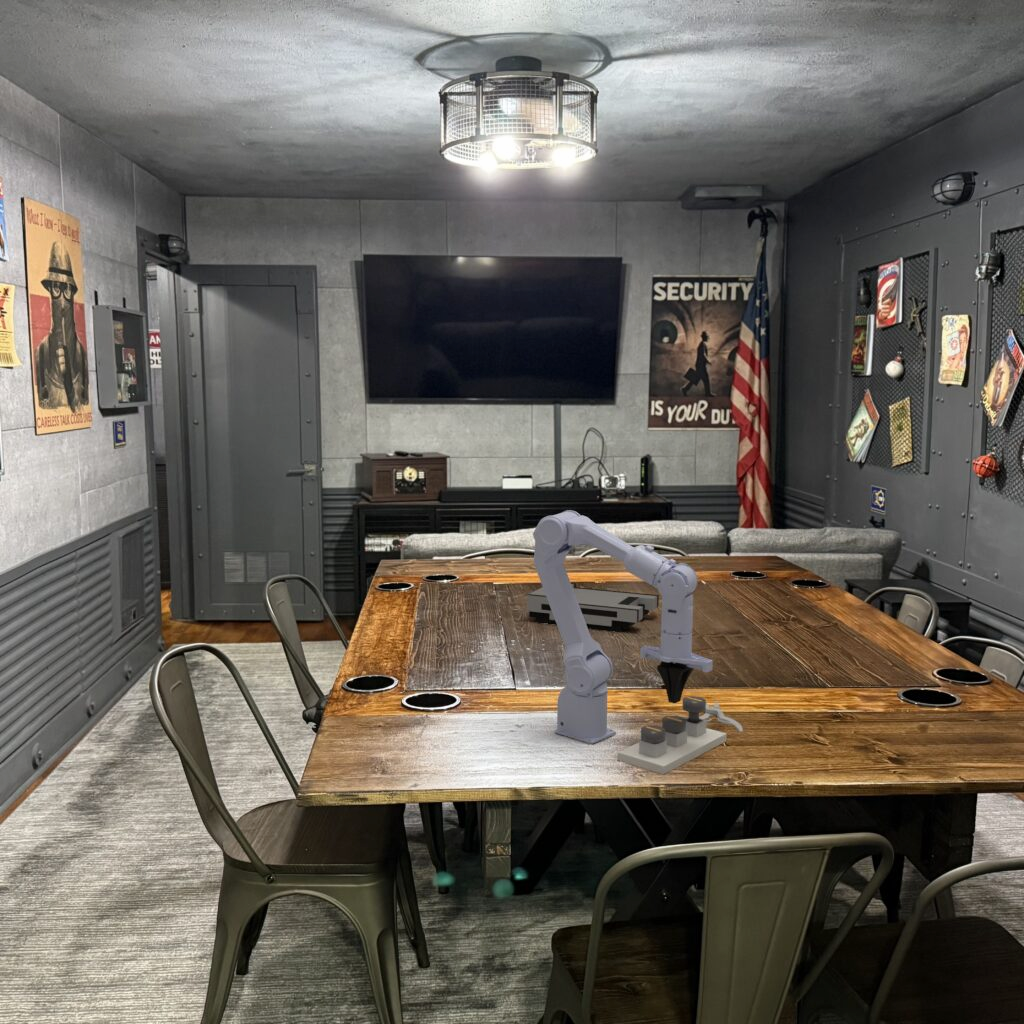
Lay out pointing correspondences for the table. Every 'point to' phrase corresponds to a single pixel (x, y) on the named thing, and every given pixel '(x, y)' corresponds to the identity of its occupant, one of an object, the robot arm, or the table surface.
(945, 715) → the table surface
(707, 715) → the pliers
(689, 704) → the knob far
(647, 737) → the knob near
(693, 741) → the knob mount
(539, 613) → the game console
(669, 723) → the knob middle
